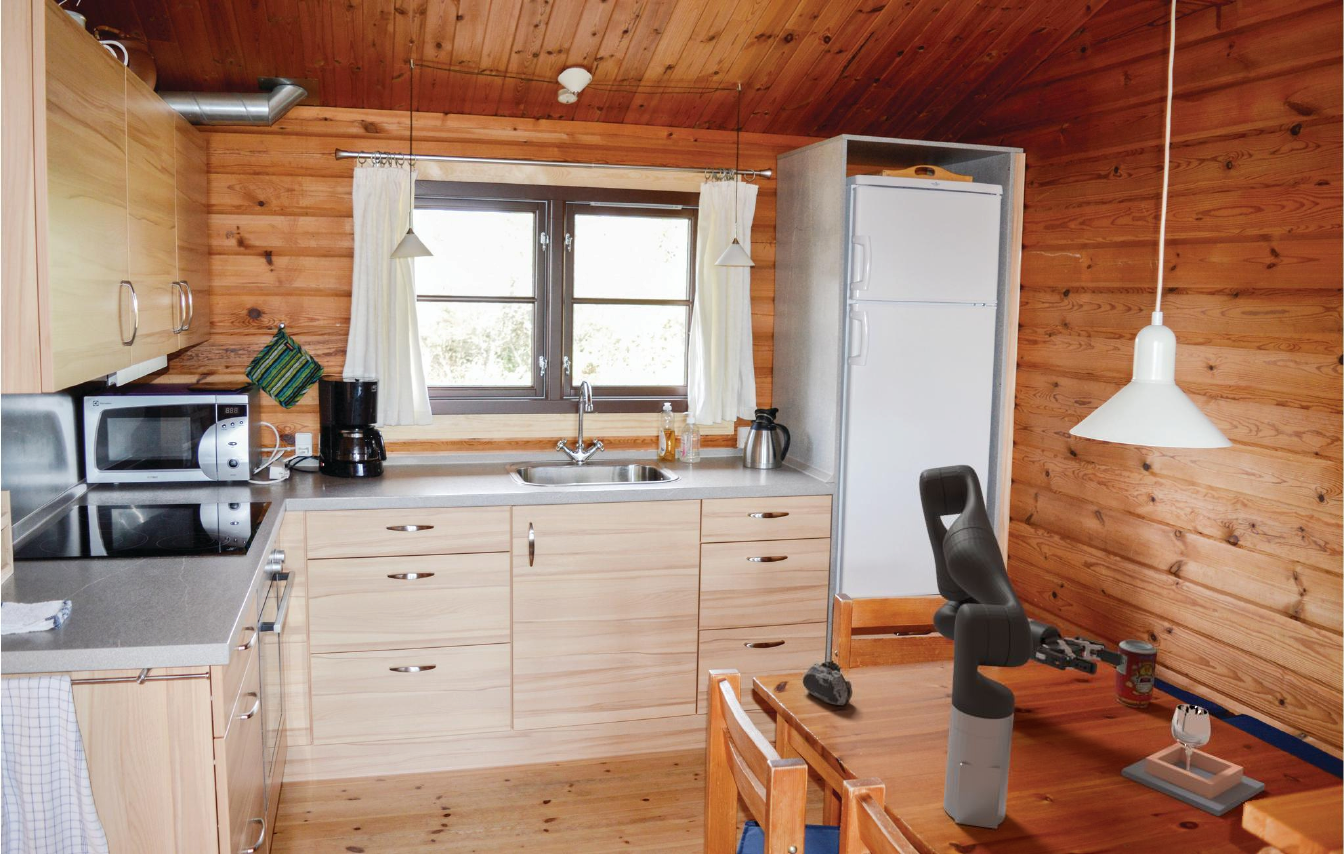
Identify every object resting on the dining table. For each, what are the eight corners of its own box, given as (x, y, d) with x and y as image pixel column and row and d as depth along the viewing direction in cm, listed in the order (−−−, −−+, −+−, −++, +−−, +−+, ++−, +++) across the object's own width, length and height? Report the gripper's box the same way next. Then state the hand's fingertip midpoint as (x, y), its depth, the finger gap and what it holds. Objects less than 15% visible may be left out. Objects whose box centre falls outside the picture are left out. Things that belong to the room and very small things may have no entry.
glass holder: (1264, 789, 164) (1266, 769, 163) (1218, 816, 154) (1220, 795, 154) (1168, 751, 177) (1171, 733, 176) (1121, 774, 167) (1123, 755, 167)
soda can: (1131, 710, 194) (1137, 651, 193) (1105, 696, 201) (1111, 638, 199) (1159, 707, 197) (1166, 648, 195) (1133, 693, 203) (1138, 636, 202)
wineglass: (1168, 767, 168) (1173, 700, 167) (1206, 775, 166) (1211, 707, 164) (1167, 781, 163) (1172, 711, 162) (1206, 789, 160) (1212, 718, 159)
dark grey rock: (839, 714, 188) (875, 700, 194) (839, 679, 187) (875, 667, 193) (795, 693, 198) (831, 681, 204) (796, 660, 197) (831, 649, 203)
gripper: (1008, 625, 184) (1089, 651, 171) (1051, 614, 192) (1131, 637, 180) (1005, 664, 185) (1085, 692, 172) (1048, 650, 193) (1127, 677, 180)
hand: (1108, 664), depth 176 cm, fingers open, 8 cm apart
